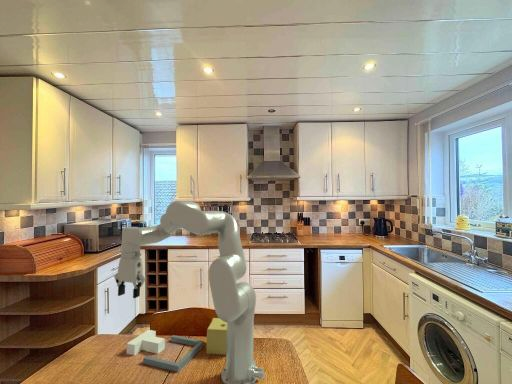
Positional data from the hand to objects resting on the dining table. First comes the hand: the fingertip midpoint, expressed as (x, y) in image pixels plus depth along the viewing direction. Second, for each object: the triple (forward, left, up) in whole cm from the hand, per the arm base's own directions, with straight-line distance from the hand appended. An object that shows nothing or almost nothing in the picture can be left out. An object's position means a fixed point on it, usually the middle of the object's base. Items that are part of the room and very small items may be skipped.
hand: (128, 295), depth 108 cm
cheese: (-40, -10, -20) cm, 46 cm away
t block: (-12, 0, -20) cm, 23 cm away
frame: (-24, 0, -20) cm, 31 cm away
